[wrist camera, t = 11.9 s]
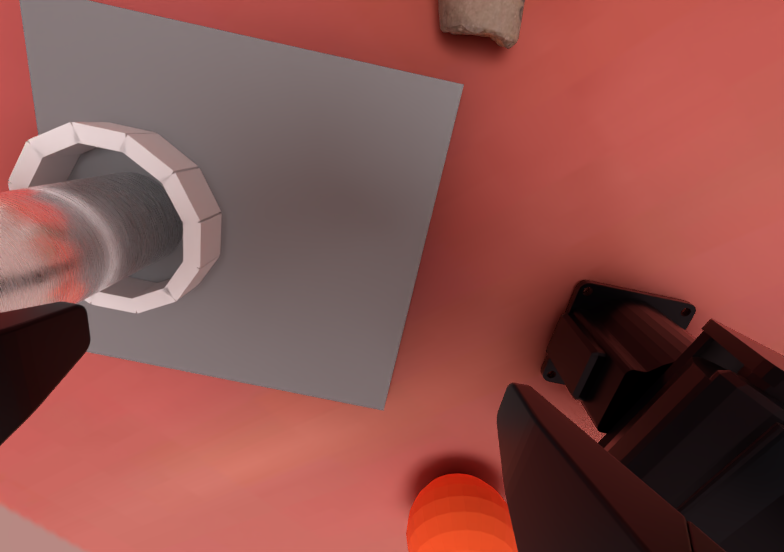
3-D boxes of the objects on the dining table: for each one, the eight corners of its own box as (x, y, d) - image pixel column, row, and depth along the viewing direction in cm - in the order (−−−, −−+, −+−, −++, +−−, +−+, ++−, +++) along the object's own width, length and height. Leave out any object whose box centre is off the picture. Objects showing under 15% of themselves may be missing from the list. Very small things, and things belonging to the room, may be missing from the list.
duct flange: (459, 87, 18) (470, 79, 14) (385, 394, 24) (380, 435, 21) (49, -5, 17) (-36, -35, 14) (88, 335, 24) (37, 368, 21)
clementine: (408, 528, 29) (406, 648, 22) (380, 462, 27) (370, 573, 20) (513, 512, 28) (544, 633, 21) (494, 441, 25) (523, 552, 19)
